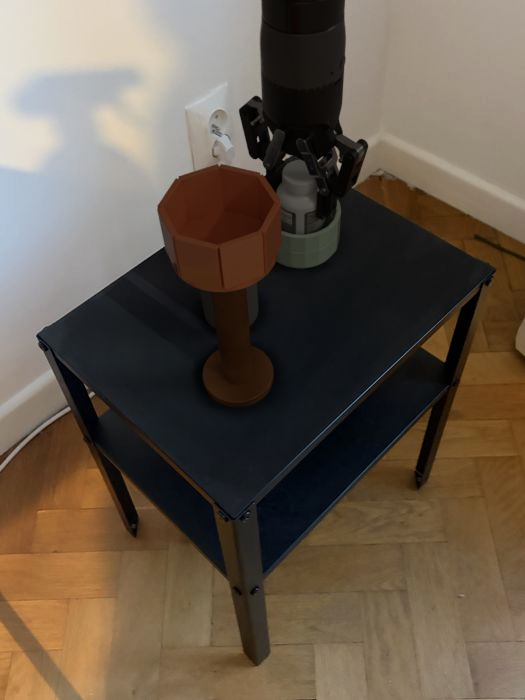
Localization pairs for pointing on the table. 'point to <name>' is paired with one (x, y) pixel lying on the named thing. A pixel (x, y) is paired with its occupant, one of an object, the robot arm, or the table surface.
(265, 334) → the table surface
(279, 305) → the table surface
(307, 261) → the back bowl
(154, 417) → the table surface
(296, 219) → the pill bottle
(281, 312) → the table surface
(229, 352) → the stand
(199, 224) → the raised bowl
